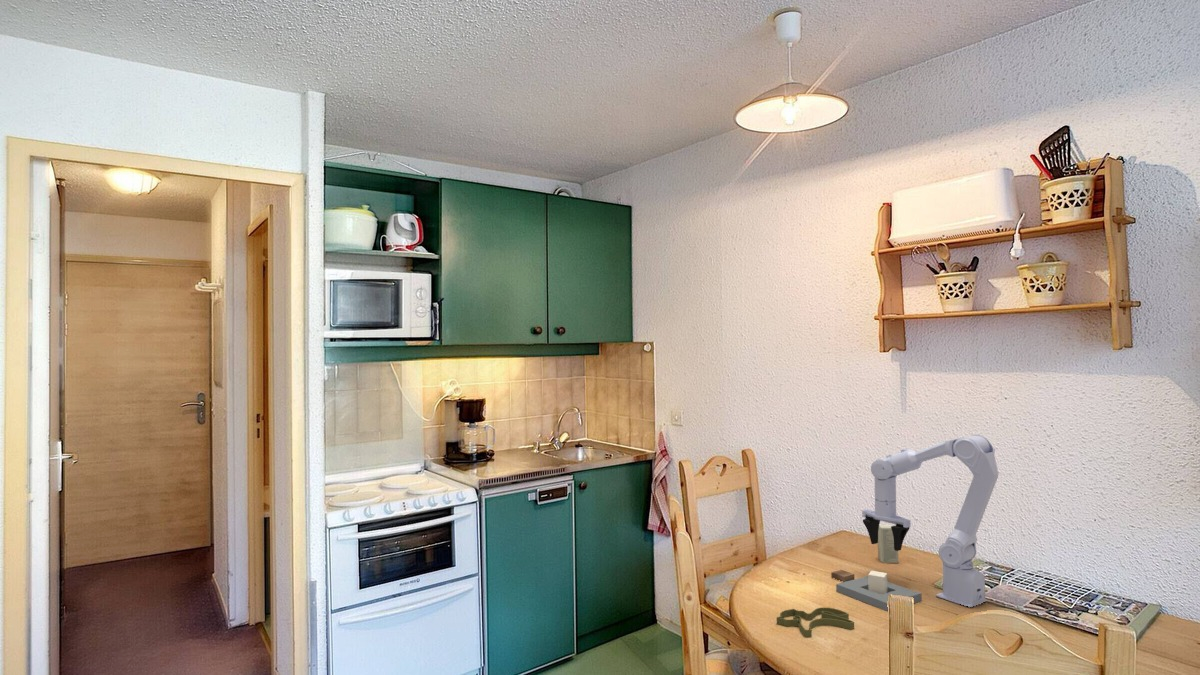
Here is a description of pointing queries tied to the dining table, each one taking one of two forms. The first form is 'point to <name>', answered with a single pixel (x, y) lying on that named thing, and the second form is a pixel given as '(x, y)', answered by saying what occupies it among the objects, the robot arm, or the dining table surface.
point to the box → (886, 545)
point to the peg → (877, 582)
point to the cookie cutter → (827, 619)
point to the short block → (842, 575)
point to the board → (861, 592)
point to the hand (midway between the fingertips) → (885, 546)
